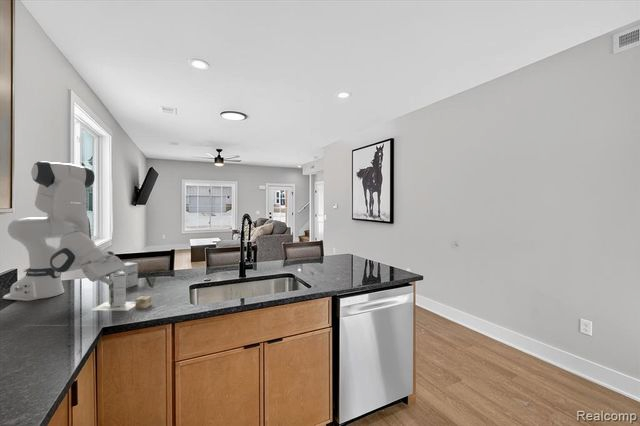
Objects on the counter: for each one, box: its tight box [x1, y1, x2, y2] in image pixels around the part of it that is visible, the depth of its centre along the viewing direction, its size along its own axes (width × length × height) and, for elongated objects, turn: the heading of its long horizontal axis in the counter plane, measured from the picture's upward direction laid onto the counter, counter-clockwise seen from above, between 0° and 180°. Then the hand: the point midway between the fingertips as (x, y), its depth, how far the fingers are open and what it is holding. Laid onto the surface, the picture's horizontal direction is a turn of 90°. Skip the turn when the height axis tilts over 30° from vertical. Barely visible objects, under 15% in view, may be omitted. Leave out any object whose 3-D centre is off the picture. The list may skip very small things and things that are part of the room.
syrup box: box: [108, 271, 127, 307], centre depth 130 cm, size 6×6×14 cm
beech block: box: [135, 295, 152, 309], centre depth 130 cm, size 4×4×4 cm
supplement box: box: [123, 261, 139, 289], centre depth 161 cm, size 7×7×13 cm
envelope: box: [90, 301, 136, 311], centre depth 130 cm, size 16×11×1 cm
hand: (118, 281), depth 130 cm, fingers closed on syrup box, 8 cm apart
